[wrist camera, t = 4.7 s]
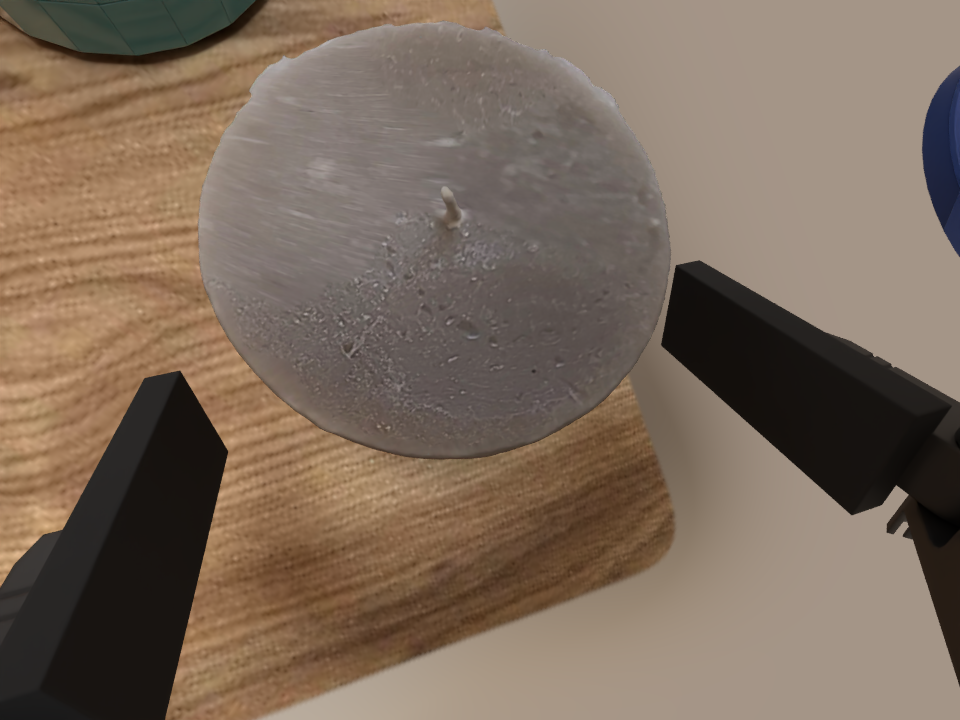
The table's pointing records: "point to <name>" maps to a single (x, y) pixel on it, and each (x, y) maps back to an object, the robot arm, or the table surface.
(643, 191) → the pillar candle
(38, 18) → the bowl
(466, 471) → the table surface
